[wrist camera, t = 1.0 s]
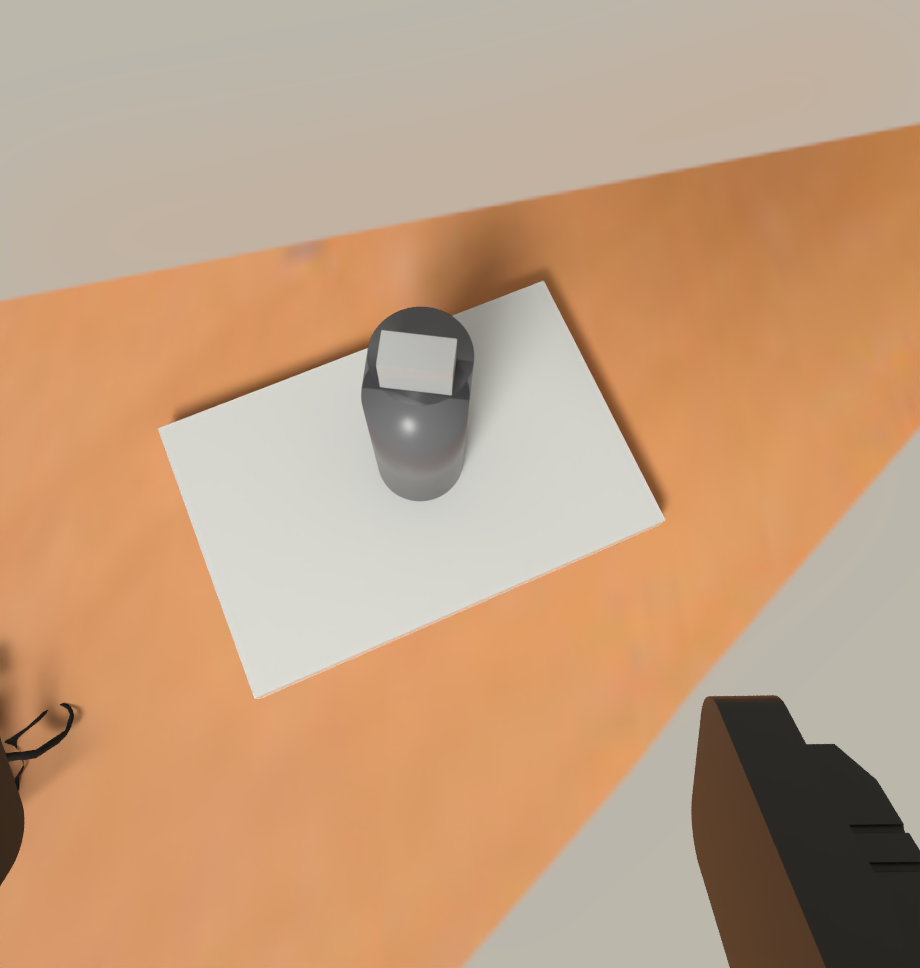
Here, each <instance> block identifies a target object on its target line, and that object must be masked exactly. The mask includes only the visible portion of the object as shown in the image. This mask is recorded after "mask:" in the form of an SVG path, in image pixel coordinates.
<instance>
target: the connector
mask: <svg viewBox="0 0 920 968" xmlns="http://www.w3.org/2000/svg"><path fill="white" fill-rule="evenodd" d="M473 367H474V348H473V344H472V341H471V338H470V336H469V334H468V332H467V330H466V329H465V328H464V326H463V325H462V324H461V323H460V322H459V321H458V320H457V319H455V318H454V317H453V316H451V315H449V314H448V313H446V312H443V311H441V310H438V309H435V308H430V307H412V308H407V309H404V310H400V311H398V312H396V313H394V314H392V315H391V316H389V317H388V318H386V319H385V320H384V321H383V322H382V323H381V324H380V325H379V326H378V327H377V329H376V330H375V331H374V333H373V335H372V337H371V339H370V342H369V346H368V350H367V357H366V363H365V370H364V376H363V382H362V389H361V401H362V406H363V411H364V415H365V418H366V422H367V426H368V430H369V434H370V438H371V442H372V446H373V450H374V453H375V457H376V461H377V465H378V469H379V472H380V475H381V478H382V479H383V481H384V483H385V484H386V486H387V487H388V488H389V489H390V490H391V491H392V492H394V493H395V494H397V495H398V496H400V497H402V498H404V499H408V500H412V501H429V500H433V499H436V498H438V497H440V496H442V495H444V494H445V493H447V492H448V491H449V490H450V489H451V488H452V487H453V486H454V485H455V484H456V482H457V481H458V479H459V477H460V475H461V472H462V467H463V461H464V452H465V444H466V435H467V426H468V416H469V406H470V396H471V386H472V377H473Z"/></svg>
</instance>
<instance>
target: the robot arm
mask: <svg viewBox="0 0 920 968" xmlns="http://www.w3.org/2000/svg"><path fill="white" fill-rule="evenodd" d="M903 825H904V824H903V822H902V821H901V819H900V817H899V816H898V814H897V813H896V811H895V809H894V808H893V806H892V805H891V803H890V801H889V799H888V798H887V796H886V794H885V793H884V791H883V790H882V788H881V786H880V785H879V783H878V781H877V780H876V779H875V778H874V777H872V776H871V775H870V774H869V773H868V772H867V771H865V770H864V769H863V768H862V767H861V766H860V765H858V764H857V763H856V762H855V761H854V760H852V759H851V758H850V757H849V756H848V755H847V754H845V753H844V752H843V751H842V750H841V749H840V748H838V747H837V746H836V745H835V744H806V743H805V741H804V739H803V737H802V735H801V733H800V732H799V730H798V728H797V726H796V724H795V722H794V720H793V718H792V717H791V715H790V713H789V711H788V709H787V707H786V705H785V704H784V702H783V701H782V700H781V699H780V698H779V697H778V696H773V695H771V696H709V697H706V699H705V700H704V703H703V706H702V712H701V720H700V730H699V738H698V748H697V757H696V766H695V775H694V785H693V794H692V829H693V838H694V845H695V850H696V855H697V859H698V863H699V866H700V870H701V873H702V877H703V879H704V883H705V886H706V890H707V893H708V896H709V900H710V903H711V906H712V910H713V913H714V916H715V920H716V923H717V926H718V929H719V933H720V936H721V940H722V943H723V946H724V950H725V953H726V956H727V960H728V963H729V966H730V968H920V850H919V848H918V847H917V845H916V844H915V842H914V840H913V839H912V837H911V836H910V834H909V833H905V831H904V827H903ZM23 833H24V809H23V805H22V802H21V799H20V796H19V793H18V790H17V787H16V784H15V781H14V778H13V775H12V772H11V769H10V766H9V763H8V760H7V757H6V754H5V751H4V748H3V745H2V742H1V739H0V885H1V884H2V882H3V881H4V879H5V877H6V876H7V874H8V873H9V871H10V869H11V868H12V866H13V864H14V862H15V860H16V858H17V855H18V853H19V850H20V847H21V843H22V838H23Z"/></svg>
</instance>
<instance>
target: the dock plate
mask: <svg viewBox="0 0 920 968" xmlns="http://www.w3.org/2000/svg"><path fill="white" fill-rule="evenodd" d="M452 316H453V317H454V318H455V319H457V320H458V321H459V322H460V323H461V324H462V325H463V326H464V328H465V329H466V330H467V332H468V334H469V336H470V338H471V341H472V344H473V348H474V367H473V377H472V386H471V396H470V406H469V416H468V426H467V435H466V444H465V452H464V461H463V467H462V472H461V475H460V477H459V479H458V481H457V482H456V484H455V485H454V486H453V487H452V488H451V489H450V490H449V491H448V492H447V493H445V494H444V495H442V496H440V497H438V498H436V499H433V500H429V501H412V500H408V499H404V498H402V497H400V496H398V495H397V494H395V493H394V492H392V491H391V490H390V489H389V488H388V487H387V486H386V484H385V483H384V481H383V479H382V478H381V475H380V472H379V469H378V465H377V461H376V457H375V453H374V450H373V446H372V442H371V438H370V434H369V430H368V426H367V422H366V418H365V415H364V411H363V406H362V401H361V389H362V382H363V376H364V370H365V363H366V357H367V350H368V348H366V349H364V350H361V351H358V352H356V353H353V354H351V355H348V356H345V357H343V358H340V359H338V360H335V361H332V362H330V363H327V364H325V365H322V366H319V367H317V368H314V369H312V370H309V371H306V372H304V373H301V374H299V375H296V376H293V377H291V378H288V379H286V380H283V381H280V382H278V383H275V384H273V385H270V386H267V387H265V388H262V389H259V390H257V391H254V392H252V393H249V394H246V395H244V396H241V397H239V398H236V399H233V400H231V401H228V402H226V403H223V404H220V405H218V406H215V407H213V408H210V409H207V410H205V411H202V412H200V413H197V414H194V415H192V416H189V417H187V418H184V419H181V420H179V421H176V422H174V423H171V424H168V425H166V426H163V427H160V428H158V431H159V433H160V436H161V439H162V442H163V445H164V447H165V450H166V453H167V456H168V459H169V461H170V464H171V467H172V470H173V473H174V475H175V478H176V481H177V484H178V486H179V489H180V492H181V495H182V498H183V500H184V503H185V506H186V509H187V512H188V514H189V517H190V520H191V523H192V526H193V528H194V531H195V534H196V537H197V540H198V542H199V545H200V548H201V551H202V553H203V556H204V559H205V562H206V565H207V567H208V570H209V573H210V576H211V579H212V581H213V584H214V587H215V590H216V593H217V595H218V598H219V601H220V604H221V606H222V609H223V612H224V615H225V618H226V620H227V623H228V626H229V629H230V632H231V634H232V637H233V640H234V643H235V646H236V648H237V651H238V654H239V657H240V659H241V662H242V665H243V668H244V671H245V673H246V676H247V679H248V682H249V685H250V687H251V690H252V693H253V696H254V699H262V698H264V697H266V696H269V695H271V694H273V693H276V692H278V691H280V690H282V689H285V688H287V687H289V686H292V685H294V684H296V683H299V682H301V681H303V680H305V679H308V678H310V677H312V676H315V675H317V674H319V673H322V672H324V671H326V670H328V669H331V668H333V667H335V666H338V665H340V664H342V663H345V662H347V661H349V660H351V659H354V658H356V657H358V656H361V655H363V654H365V653H368V652H370V651H372V650H374V649H377V648H379V647H381V646H384V645H386V644H388V643H391V642H393V641H395V640H397V639H400V638H402V637H404V636H407V635H409V634H411V633H414V632H416V631H418V630H420V629H423V628H425V627H427V626H430V625H432V624H434V623H437V622H439V621H441V620H443V619H446V618H448V617H450V616H453V615H455V614H457V613H460V612H462V611H464V610H466V609H469V608H471V607H473V606H476V605H478V604H480V603H483V602H485V601H487V600H489V599H492V598H494V597H496V596H499V595H501V594H503V593H506V592H508V591H510V590H512V589H515V588H517V587H519V586H522V585H524V584H526V583H529V582H531V581H533V580H535V579H538V578H540V577H542V576H545V575H547V574H549V573H552V572H554V571H556V570H558V569H561V568H563V567H565V566H568V565H570V564H572V563H575V562H577V561H579V560H581V559H584V558H586V557H588V556H591V555H593V554H595V553H598V552H600V551H602V550H604V549H607V548H609V547H611V546H614V545H616V544H618V543H621V542H623V541H625V540H627V539H630V538H632V537H634V536H637V535H639V534H641V533H643V532H646V531H648V530H650V529H653V528H655V527H657V526H659V525H660V524H661V523H663V522H664V521H665V518H664V516H663V514H662V512H661V510H660V508H659V506H658V504H657V502H656V500H655V498H654V496H653V494H652V492H651V490H650V488H649V487H648V485H647V483H646V481H645V479H644V477H643V475H642V473H641V471H640V469H639V467H638V465H637V463H636V461H635V459H634V457H633V455H632V453H631V451H630V449H629V447H628V445H627V443H626V441H625V439H624V437H623V435H622V433H621V432H620V430H619V428H618V426H617V424H616V422H615V420H614V418H613V416H612V414H611V412H610V410H609V408H608V406H607V404H606V402H605V400H604V398H603V396H602V394H601V392H600V390H599V388H598V386H597V384H596V382H595V380H594V378H593V377H592V375H591V373H590V371H589V369H588V367H587V365H586V363H585V361H584V359H583V357H582V355H581V353H580V351H579V349H578V347H577V345H576V343H575V341H574V339H573V337H572V335H571V333H570V331H569V329H568V327H567V325H566V323H565V322H564V320H563V318H562V316H561V314H560V312H559V310H558V308H557V306H556V304H555V302H554V300H553V298H552V296H551V294H550V292H549V290H548V288H547V286H546V284H545V282H544V280H543V281H541V282H538V283H536V284H533V285H530V286H528V287H525V288H523V289H520V290H517V291H515V292H512V293H510V294H507V295H504V296H502V297H499V298H497V299H494V300H491V301H489V302H486V303H484V304H481V305H478V306H476V307H473V308H471V309H468V310H465V311H463V312H460V313H457V314H455V315H452Z"/></svg>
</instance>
